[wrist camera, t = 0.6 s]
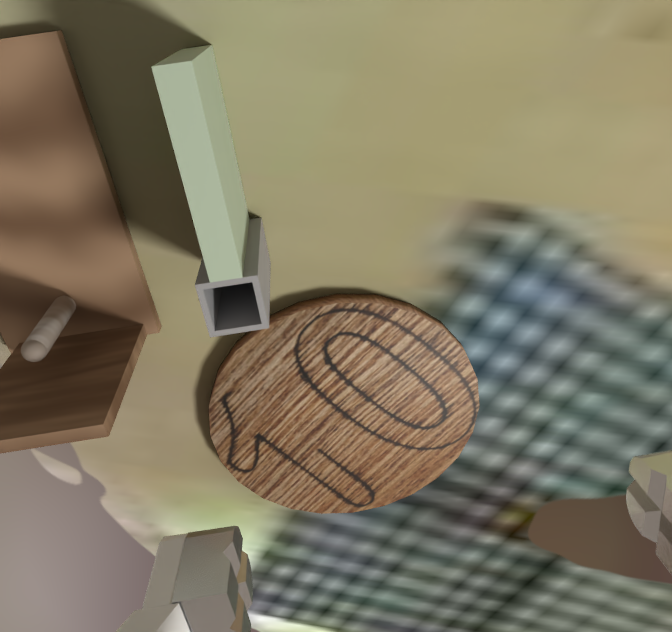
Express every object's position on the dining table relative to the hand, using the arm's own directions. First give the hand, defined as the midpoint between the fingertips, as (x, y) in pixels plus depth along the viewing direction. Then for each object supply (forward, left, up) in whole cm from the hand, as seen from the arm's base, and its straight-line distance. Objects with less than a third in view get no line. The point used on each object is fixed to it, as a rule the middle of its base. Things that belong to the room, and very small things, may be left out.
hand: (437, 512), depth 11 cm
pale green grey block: (+1, -7, -33) cm, 33 cm away
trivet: (+25, -1, -33) cm, 41 cm away
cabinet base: (+2, -21, -33) cm, 39 cm away
